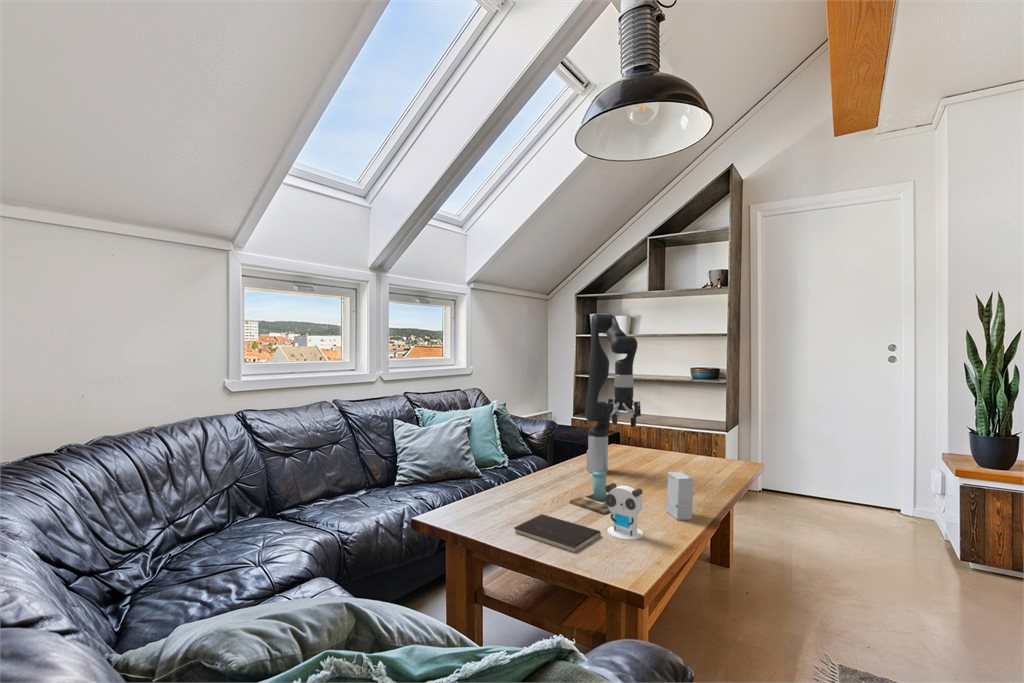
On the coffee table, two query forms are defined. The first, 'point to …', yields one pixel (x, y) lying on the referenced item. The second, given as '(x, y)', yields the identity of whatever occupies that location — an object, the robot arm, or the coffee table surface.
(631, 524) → the panda figurine
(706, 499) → the coffee table surface
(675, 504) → the skincare box
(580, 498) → the collar base
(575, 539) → the hardcover book
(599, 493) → the teal domed canister
